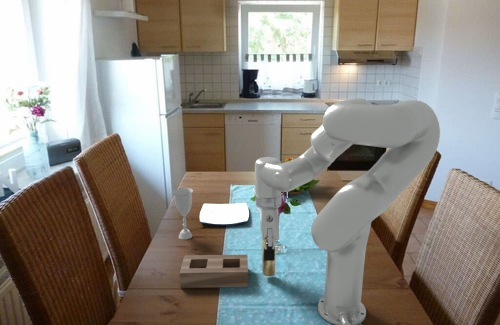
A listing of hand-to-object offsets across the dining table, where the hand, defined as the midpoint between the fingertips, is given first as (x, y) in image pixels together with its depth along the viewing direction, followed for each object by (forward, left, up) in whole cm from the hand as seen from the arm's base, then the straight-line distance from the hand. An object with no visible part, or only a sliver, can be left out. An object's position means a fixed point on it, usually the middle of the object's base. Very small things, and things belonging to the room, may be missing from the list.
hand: (268, 255), depth 120 cm
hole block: (0, +16, -8) cm, 18 cm away
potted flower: (+76, -17, -8) cm, 78 cm away
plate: (+45, +15, -8) cm, 49 cm away
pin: (0, 0, -6) cm, 6 cm away
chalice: (+28, +29, -8) cm, 42 cm away
